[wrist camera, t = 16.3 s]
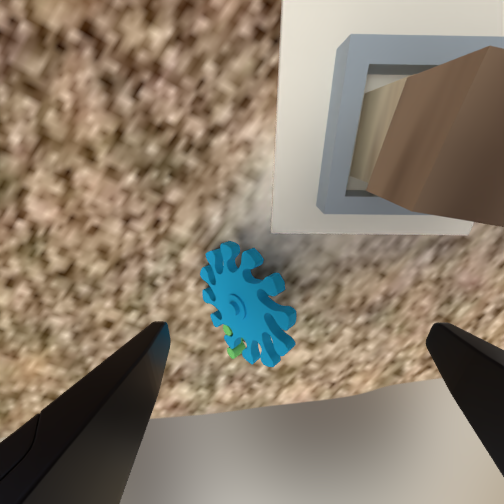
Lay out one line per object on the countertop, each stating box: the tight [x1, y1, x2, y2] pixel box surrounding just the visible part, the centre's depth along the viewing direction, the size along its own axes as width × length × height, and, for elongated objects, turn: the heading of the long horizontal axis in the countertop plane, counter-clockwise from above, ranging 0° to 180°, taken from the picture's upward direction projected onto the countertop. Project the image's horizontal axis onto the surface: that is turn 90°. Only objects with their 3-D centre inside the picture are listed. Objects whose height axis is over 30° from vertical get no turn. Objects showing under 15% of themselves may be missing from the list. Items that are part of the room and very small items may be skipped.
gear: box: [200, 241, 296, 367], centre depth 20 cm, size 11×6×10 cm
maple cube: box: [350, 74, 415, 183], centre depth 14 cm, size 5×5×5 cm
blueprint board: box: [271, 0, 504, 235], centre depth 15 cm, size 16×14×3 cm
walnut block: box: [366, 46, 504, 227], centre depth 10 cm, size 5×5×4 cm
